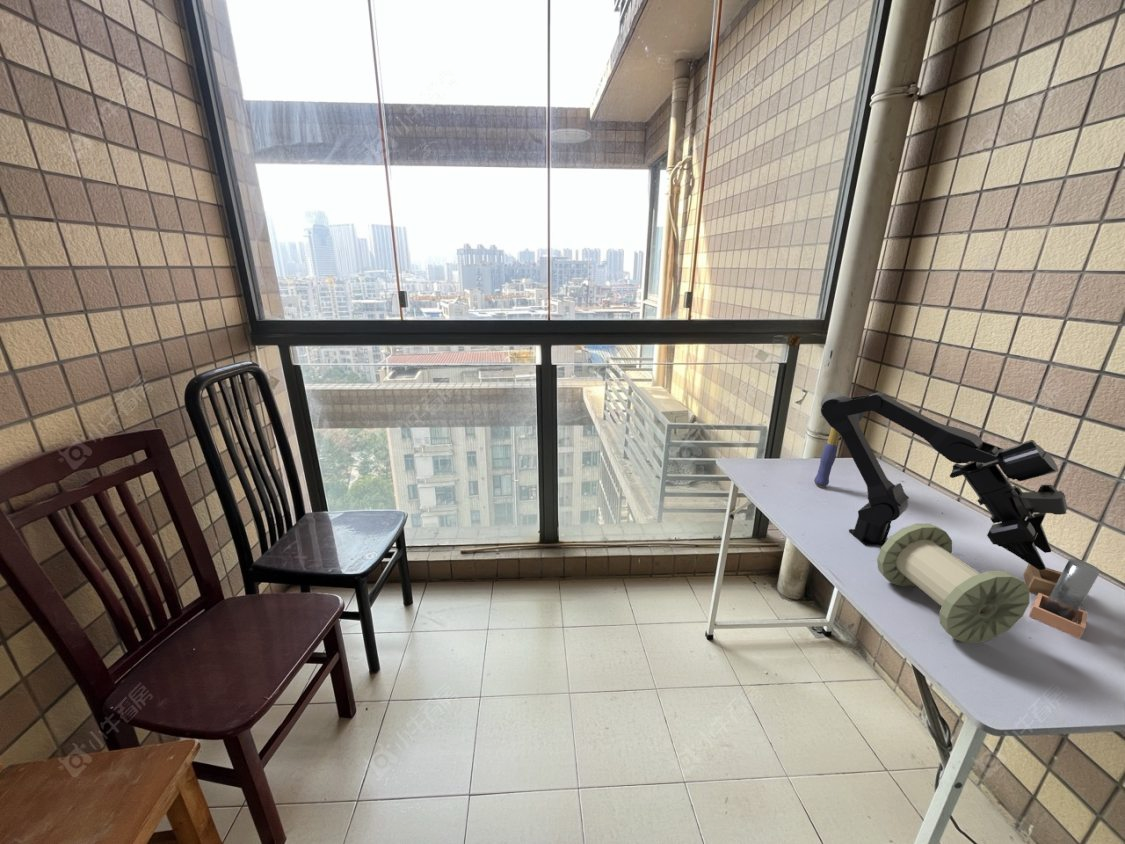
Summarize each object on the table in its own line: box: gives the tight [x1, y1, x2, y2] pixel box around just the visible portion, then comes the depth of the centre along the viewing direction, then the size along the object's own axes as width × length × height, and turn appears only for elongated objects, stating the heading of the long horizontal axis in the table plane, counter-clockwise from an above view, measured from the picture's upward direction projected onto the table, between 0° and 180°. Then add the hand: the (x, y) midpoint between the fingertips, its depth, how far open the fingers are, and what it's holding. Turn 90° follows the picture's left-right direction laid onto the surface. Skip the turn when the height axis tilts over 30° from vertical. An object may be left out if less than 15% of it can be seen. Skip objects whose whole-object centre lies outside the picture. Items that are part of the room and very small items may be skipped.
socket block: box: [1028, 593, 1089, 639], centre depth 85 cm, size 7×7×2 cm
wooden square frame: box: [1022, 563, 1063, 597], centre depth 93 cm, size 7×7×4 cm
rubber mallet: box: [813, 391, 865, 488], centre depth 132 cm, size 12×8×30 cm, turn 174°
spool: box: [876, 522, 1031, 644], centre depth 85 cm, size 16×15×15 cm
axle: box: [1042, 558, 1101, 622], centre depth 84 cm, size 4×4×13 cm
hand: (1045, 560), depth 85 cm, fingers open, 9 cm apart
